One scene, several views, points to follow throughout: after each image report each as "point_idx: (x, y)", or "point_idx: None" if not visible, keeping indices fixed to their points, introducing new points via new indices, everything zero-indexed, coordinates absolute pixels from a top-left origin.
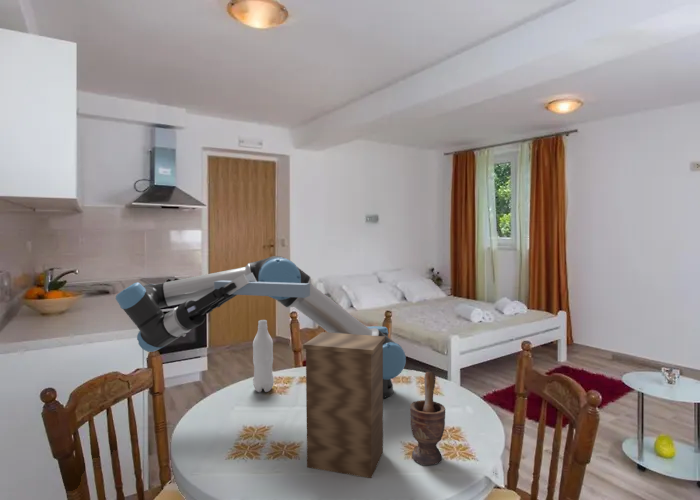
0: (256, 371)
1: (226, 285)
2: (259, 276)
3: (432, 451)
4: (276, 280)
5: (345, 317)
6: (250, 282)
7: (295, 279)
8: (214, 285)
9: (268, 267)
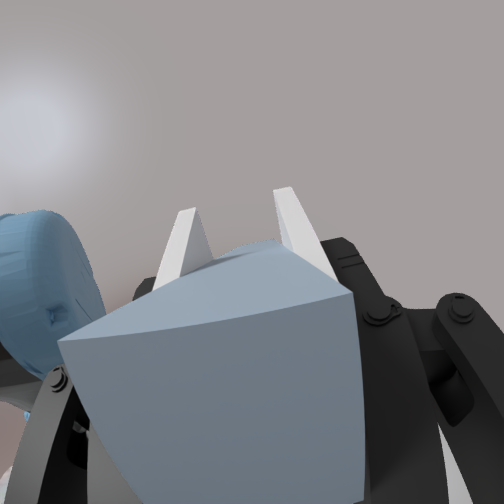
0: None
1: (337, 281)
2: (12, 300)
3: None
4: (83, 296)
5: None
6: (262, 249)
7: (96, 286)
8: (360, 388)
9: (54, 236)
